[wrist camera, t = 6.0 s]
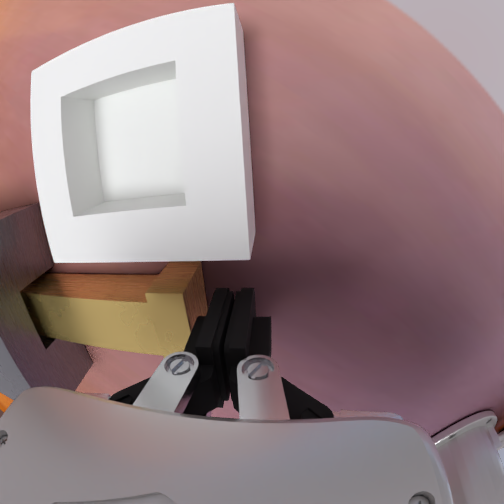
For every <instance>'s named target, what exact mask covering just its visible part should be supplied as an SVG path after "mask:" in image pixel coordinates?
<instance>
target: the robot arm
mask: <svg viewBox="0 0 504 504" xmlns="http://www.w3.org/2000/svg"><path fill="white" fill-rule="evenodd" d="M230 393H231V399H232V401H233V406H234V408H235V409H236V410H237V411H238V412H239V415H240V419H234V418H220V417H211V414H212V413H211V410H213V409H215V408H217V407H220V408H223V404H224V400H225V401H228V400H229V396H230ZM496 423H497V417H496V415H495V413H494V412H493V411H483V412H480V413H477V414H475V415H472V416H470V417H468V418H466V419H463V420H461V421H460V422H458V423H456V424H454V425H452V426H450V427H449V428H447V429H445V430H444V431H442V432H440V433H439V434H437V435H436V436H434V437H432V438H431V437H430V436H429V434H428V433H427V432H426V431H425V430H424V429H423V428H422V427H420V426H419V425H417V424H415V423H412V422H409V421H406V420H403V418H402V417H401V416H399V415H397V414H396V413H390V412H367V411H351V410H341V411H340V412H332V411H331V410H330V409H329V408H328V407H327V406H325V405H324V404H322V403H320V402H319V401H317V400H316V399H314V398H313V397H311V396H310V395H308V394H306V393H305V392H303V391H302V390H300V389H299V388H297V387H296V386H294V385H293V384H291V383H290V382H288V381H287V380H286V379H284V378H283V377H281V375H280V371H279V366H278V364H277V362H276V361H275V360H274V359H273V358H271V317H256V310H255V292H254V288H241V291H237V292H236V296H235V299H234V292H233V291H229V288H216V290H215V292H214V295H213V298H212V300H211V303H210V306H209V309H208V311H207V314H206V316H198V317H197V319H196V321H195V323H194V326H193V328H192V331H191V333H190V336H189V338H188V341H187V343H186V346H185V349H184V351H183V352H175V353H172V354H170V355H168V356H166V357H165V358H164V359H163V360H162V362H161V363H160V365H159V366H158V368H157V369H156V371H155V372H154V374H153V375H152V377H150V378H148V379H146V380H143V381H141V382H139V383H137V384H135V385H132V386H130V387H128V388H126V389H123V390H121V391H119V392H117V393H115V394H113V395H112V396H110V395H109V394H100V393H80V392H76V391H72V390H68V389H63V388H58V387H48V386H43V387H33V388H29V389H26V390H25V391H23V392H22V393H21V394H20V395H19V396H18V397H17V398H16V399H15V400H14V401H13V402H12V403H11V405H10V406H9V407H8V409H7V410H6V411H5V413H4V414H3V416H2V417H1V418H0V504H504V466H503V464H502V461H501V458H500V456H499V454H498V450H500V449H501V448H503V447H504V431H502V432H501V433H499V434H497V433H496V431H495V429H494V427H495V425H496ZM410 498H411V499H410Z"/></svg>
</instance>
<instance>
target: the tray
mask: <svg viewBox="0 0 504 504" xmlns="http://www.w3.org/2000/svg"><path fill="white" fill-rule="evenodd" d="M31 135H32V149H33V160H34V168H35V176H36V183H37V189H38V195H39V201H40V206H41V212H42V216H43V221H44V225H45V230H46V234H47V238H48V242H49V246H50V250H51V253H52V257H53V260H54V263H94V262H168V261H221V260H250V258H251V253H252V248H253V243H254V238H255V233H256V230H255V212H254V195H253V178H252V161H251V144H250V128H249V112H248V96H247V80H246V65H245V49H244V34H243V30H242V26H241V23H240V20H239V17H238V14H237V11H236V8H235V5H234V3H229V4H221V5H214V6H207V7H201V8H196V9H191V10H186V11H181V12H176V13H172V14H168V15H164V16H160V17H157V18H153V19H149V20H146V21H143V22H139V23H136V24H133V25H130V26H127V27H124V28H121V29H119V30H116V31H113V32H111V33H108V34H105V35H103V36H100V37H98V38H96V39H93V40H91V41H89V42H86V43H84V44H82V45H80V46H78V47H76V48H74V49H71V50H69V51H67V52H65V53H63V54H62V55H60V56H58V57H56V58H54V59H52V60H50V61H49V62H47V63H45V64H43V65H42V66H40V67H38V68H37V69H35V70H33V71H32V75H31Z"/></svg>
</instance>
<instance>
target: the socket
mask: <svg viewBox="0 0 504 504" xmlns="http://www.w3.org/2000/svg"><path fill="white" fill-rule="evenodd" d="M52 266H54V264H53V261H52V257H51V254H50V250H49V246H48V243H47V239H46V235H45V231H44V226H43V222H42V217H41V213H40V207H39V203H35V204H31V205H26V206H22V207H18V208H14V209H10V210H6V211H2V212H0V392H1V393H2V394H4V395H6V396H8V397H9V398H11V399H13V400H15V399H16V398H17V397H18V396H19V395H20V394H21V393H22V392H23V391H25V390H26V389H29V388H33V387H43V386H48V387H58V388H63V389H68V390H72V391H75V390H76V388H77V387H78V385H79V384H80V382H81V381H82V379H83V378H84V376H85V375H86V373H87V372H88V370H89V369H90V367H91V366H92V364H93V362H92V360H91V358H90V356H89V354H88V352H87V350H86V348H85V346H84V344H80V343H75V342H70V341H65V340H60V339H56V338H52V337H47V336H43V335H39V334H38V333H37V331H36V329H35V327H34V324H33V322H32V320H31V318H30V316H29V313H28V311H27V309H26V306H25V304H24V301H23V299H22V296H21V294H20V291H21V290H22V289H24V288H25V287H26V286H27V285H29V284H30V283H31V282H33V281H34V280H35V279H36V278H38V277H39V276H40V275H42V274H43V273H44V272H46V271H47V270H48V269H50V268H51V267H52Z"/></svg>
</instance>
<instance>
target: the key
mask: <svg viewBox="0 0 504 504" xmlns="http://www.w3.org/2000/svg"><path fill="white" fill-rule="evenodd" d="M20 294H21V296H22V299H23V301H24V304H25V306H26V309H27V311H28V313H29V316H30V318H31V320H32V322H33V324H34V327H35V329H36V331H37V333H38V334H39V335H43V336H47V337H52V338H56V339H60V340H65V341H70V342H75V343H80V344H85V345H91V346H96V347H102V348H108V349H115V350H122V351H129V352H136V353H144V354H153V355H163V356H164V358H165V357H166V356H168V355H170V354H172V353H175V352H183V351H184V349H185V346H186V343H187V341H188V338H189V336H190V333H191V331H192V328H193V326H194V323H195V321H196V319H197V317H198V316H206V314H207V311H208V306H207V299H206V293H205V287H204V280H203V273H202V266H201V261H190V262H169V263H168V264H167V265H166V267H165V268H164V269H163V270H162V272H161V273H160V274H159V275H107V274H56V273H43V274H42V275H40V276H39V277H38V278H36V279H35V280H34V281H33V282H31V283H30V284H29V285H27V286H26V287H25V288H24V289H22V290H21V291H20Z"/></svg>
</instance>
